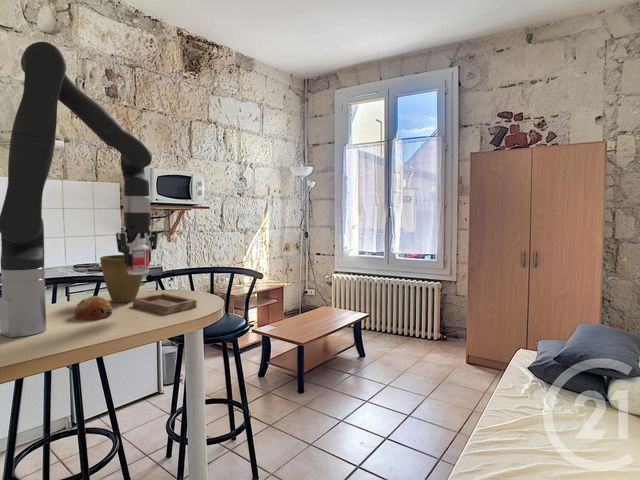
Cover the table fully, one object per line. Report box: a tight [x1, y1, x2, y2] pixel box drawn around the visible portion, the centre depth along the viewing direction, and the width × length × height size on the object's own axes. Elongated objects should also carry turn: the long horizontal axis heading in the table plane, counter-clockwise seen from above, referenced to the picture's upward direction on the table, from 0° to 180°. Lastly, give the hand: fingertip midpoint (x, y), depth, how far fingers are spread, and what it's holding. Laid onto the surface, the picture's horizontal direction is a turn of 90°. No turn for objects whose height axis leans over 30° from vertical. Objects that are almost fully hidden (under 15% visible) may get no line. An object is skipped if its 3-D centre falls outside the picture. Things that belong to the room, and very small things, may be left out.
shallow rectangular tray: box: [132, 292, 197, 316], centre depth 137 cm, size 12×18×2 cm, turn 57°
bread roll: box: [74, 295, 114, 321], centre depth 124 cm, size 10×10×8 cm
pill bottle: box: [127, 238, 150, 275], centre depth 124 cm, size 6×6×11 cm
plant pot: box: [99, 254, 144, 304], centre depth 144 cm, size 15×15×16 cm
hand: (138, 264), depth 125 cm, fingers closed on pill bottle, 6 cm apart
